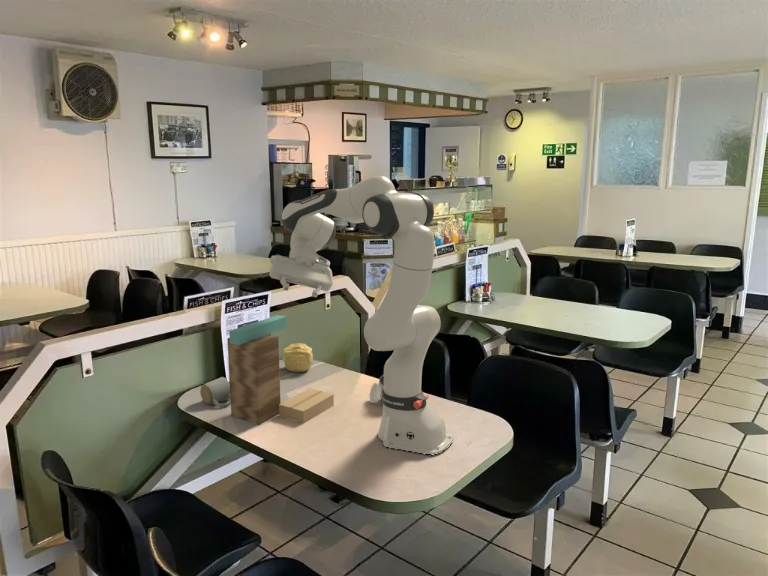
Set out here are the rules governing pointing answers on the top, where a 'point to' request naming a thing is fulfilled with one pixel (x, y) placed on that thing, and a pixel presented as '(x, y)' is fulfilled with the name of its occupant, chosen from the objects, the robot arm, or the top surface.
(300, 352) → the sculpture
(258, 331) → the teal carton
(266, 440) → the top surface
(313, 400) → the kraft parcel
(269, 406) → the walnut stand
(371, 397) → the spread jar
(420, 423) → the robot arm
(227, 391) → the ceramic mug
